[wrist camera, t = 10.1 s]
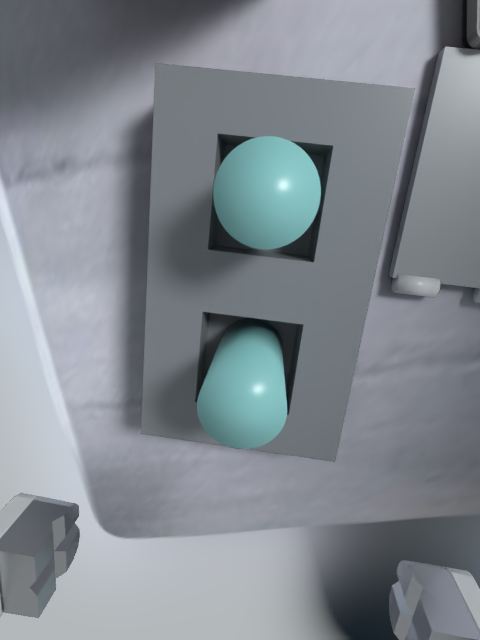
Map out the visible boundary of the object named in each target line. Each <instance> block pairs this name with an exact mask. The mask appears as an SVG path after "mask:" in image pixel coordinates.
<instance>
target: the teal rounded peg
mask: <svg viewBox="0 0 480 640" xmlns="http://www.w3.org/2000/svg"><path fill="white" fill-rule="evenodd" d="M320 197H321V185H320V179H319V175H318V172H317V169H316V167H315V165H314V163H313V161H312V160H311V158H310V157H309V156H308V155H307V153H306V152H305V151H304V150H303V149H302V148H300V147H299V146H298V145H296V144H295V143H293V142H291V141H289V140H286V139H283V138H280V137H274V136H263V137H257V138H253V139H250V140H248V141H245V142H244V143H242V144H240V145H238V146H237V147H236V148H235V149H233V150H232V151H231V152H230V153H229V154H228V155H227V157H226V158H225V159H224V161H223V162H222V164H221V166H220V167H219V170H218V172H217V175H216V178H215V182H214V189H213V199H214V206H215V210H216V213H217V216H218V218H219V220H220V222H221V224H222V225H223V227H224V228H225V230H226V231H227V232H228V233H229V234H230V235H231V236H232V237H233V238H234V239H236V240H237V241H239V242H240V243H242V244H244V245H246V246H249V247H252V248H257V249H275V248H280V247H282V246H285V245H288V244H290V243H292V242H293V241H295V240H296V239H298V238H299V237H300V236H301V235H302V234H303V233H304V232H305V231H306V230H307V229H308V228H309V226H310V225H311V223H312V222H313V220H314V218H315V216H316V214H317V211H318V208H319V204H320Z"/></svg>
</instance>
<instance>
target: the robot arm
mask: <svg viewBox="0 0 480 640" xmlns="http://www.w3.org/2000/svg"><path fill="white" fill-rule="evenodd" d="M78 517H79V506H78V505H77V504H75V503H70V502H65V501H59V500H55V499H50V498H45V497H40V496H39V497H38V496H33V495H28V494H23V493H20V494H18V495H16V496H15V497H14V498H12V500H11V501H10V502H9V503H8V504H7V505H6V506H5V507H4V508H3V509H2V510H1V511H0V616H1V615H2V612H5V613H11V614H18V615H23V616H29V617H36V618H39V617H40V615H41V613H42V612H43V610H44V608H45V607H46V605H47V603H48V602H49V600H50V598H51V597H52V595H53V593H54V592H55V590H56V583H55V582H56V580H55V579H56V578H57V577H59V576H60V575H62V574H63V573H65V572H66V571H67V570H68V568H69V566H70V564H71V562H72V561H73V559H74V556H75V553H76V550H77V547H78V543H79V537H80V533H79V529H78V527H77V526H76V524H75V521H76V520H77V518H78ZM396 572H397V575H398V578H399V581H398V582H397V583H395V584H394V585H392V588H391V592H390V596H389V612H390V619H391V624H392V628H393V632H394V634H395V635H396V636H397V637H398V639H399V640H480V589H479V587H478V585H477V583H476V582H475V580H474V578H473V576H472V575H471V574H470V573H469V572H468V571H465V570H459V569H453V568H447V567H445V568H444V567H442V566H436V565H430V564H423V563H417V562H411V561H405V560H402V561H401V562H400V563H399V565H398V568H397V571H396Z"/></svg>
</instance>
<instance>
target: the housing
mask: <svg viewBox="0 0 480 640" xmlns="http://www.w3.org/2000/svg"><path fill="white" fill-rule="evenodd" d="M414 90H415V88H406V87H396V86H385V85H375V84H365V83H355V82H344V81H334V80H324V79H313V78H303V77H293V76H282V75H272V74H262V73H251V72H241V71H231V70H220V69H210V68H200V67H189V66H179V65H169V64H158V63H155V87H154V112H153V137H152V163H151V188H150V214H149V239H148V264H147V290H146V315H145V341H144V366H143V391H142V417H141V434H146V435H153V436H160V437H167V438H174V439H181V440H188V441H194V442H201V443H208V444H215V445H222V446H225V445H223V444H221V443H219V442H218V441H216V440H215V439H213V438H212V437H211V436H210V435H209V434H208V433H207V432H206V431H205V429H204V428H203V426H202V425H201V423H200V420H199V417H198V414H197V400H198V396H199V393H200V390H201V388H202V385H203V383H204V380H205V378H206V375H207V373H208V370H209V368H210V365H211V363H212V360H213V358H214V355H215V353H216V350H217V348H218V345H219V343H220V340H221V338H222V336H223V334H224V332H225V330H226V329H227V328H228V327H229V326H230V325H231V324H232V323H234V322H236V321H238V320H240V319H244V318H256V319H261V320H263V321H266V322H267V323H269V324H270V325H271V326H273V327H274V328H275V330H276V331H277V332H278V334H279V336H280V339H281V343H282V353H283V365H284V376H285V388H286V400H287V417H286V421H285V424H284V426H283V428H282V430H281V431H280V432H279V434H278V435H277V436H276V437H275V438H274V439H272V440H271V441H270V442H268V443H266V444H265V445H262V446H260V447H256V448H251V449H250V450H257V451H264V452H271V453H278V454H285V455H292V456H299V457H305V458H312V459H319V460H326V461H333V462H335V459H336V455H337V450H338V445H339V441H340V436H341V431H342V427H343V422H344V417H345V413H346V408H347V403H348V399H349V394H350V389H351V385H352V380H353V375H354V371H355V366H356V361H357V357H358V352H359V347H360V342H361V338H362V333H363V328H364V324H365V319H366V314H367V310H368V305H369V300H370V296H371V291H372V286H373V282H374V277H375V272H376V268H377V263H378V258H379V254H380V249H381V244H382V240H383V235H384V230H385V226H386V221H387V216H388V212H389V207H390V202H391V198H392V193H393V188H394V184H395V179H396V174H397V170H398V165H399V160H400V156H401V151H402V146H403V142H404V137H405V132H406V127H407V123H408V118H409V113H410V109H411V104H412V99H413V95H414ZM263 136H274V137H280V138H283V139H286V140H289V141H291V142H293V143H295V144H296V145H298V146H299V147H300V148H302V149H303V150H304V151H305V152H306V153H307V155H308V156H309V157H310V158H311V160H312V161H313V163H314V165H315V167H316V169H317V172H318V175H319V179H320V185H321V197H320V204H319V208H318V211H317V214H316V216H315V218H314V220H313V222H312V223H311V225H310V226H309V228H308V229H307V230H306V231H305V232H304V233H303V234H302V235H301V236H300V237H299V238H298V239H296V240H295V241H293V242H292V243H290V244H288V245H285V246H282V247H280V248H275V249H257V248H252V247H249V246H246V245H244V244H242V243H240V242H239V241H237V240H236V239H234V238H233V237H232V236H231V235H230V234H229V233H228V232H227V231H226V230H225V228H224V227H223V225H222V224H221V222H220V220H219V218H218V216H217V213H216V210H215V206H214V199H213V189H214V182H215V178H216V175H217V172H218V170H219V167H220V166H221V164H222V162H223V161H224V159H225V158H226V157H227V155H228V154H229V153H230V152H231V151H232V150H233V149H235V148H236V147H237V146H238V145H240V144H242V143H244V142H245V141H248V140H250V139H253V138H257V137H263Z"/></svg>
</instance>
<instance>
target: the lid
mask: <svg viewBox="0 0 480 640" xmlns="http://www.w3.org/2000/svg"><path fill="white" fill-rule="evenodd" d="M388 276H390V277H392V278H393V280H392V292H393V293H401V294H409V295H417V296H426V297H436V296H437V295H438V293H439V290H440V284H447V285H456V286H464V287H472V288H475V289H474V292H473V299H474V301H475V302H476V303H480V50H478V49H467V48H456V47H444V48H443V49H442V50H441V51H440V52H439V53H438V57H437V62H436V66H435V71H434V75H433V79H432V84H431V88H430V93H429V97H428V102H427V106H426V111H425V115H424V120H423V124H422V128H421V133H420V137H419V142H418V146H417V151H416V155H415V160H414V164H413V169H412V173H411V177H410V182H409V186H408V191H407V195H406V200H405V204H404V209H403V213H402V218H401V222H400V226H399V231H398V235H397V240H396V244H395V249H394V253H393V258H392V262H391V267H390V271H389V275H388Z"/></svg>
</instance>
